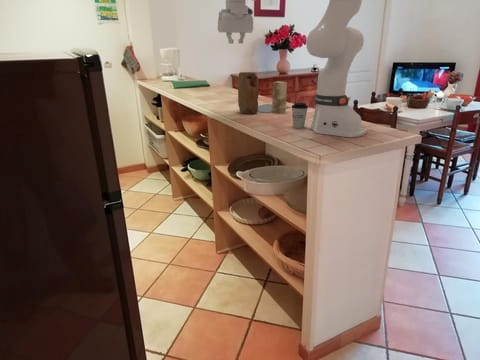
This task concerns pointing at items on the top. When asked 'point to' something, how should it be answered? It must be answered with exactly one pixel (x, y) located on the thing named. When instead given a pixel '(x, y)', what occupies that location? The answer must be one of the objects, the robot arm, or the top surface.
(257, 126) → the top surface
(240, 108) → the block
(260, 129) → the top surface
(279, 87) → the oak post
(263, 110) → the grey rubber mat
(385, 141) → the top surface
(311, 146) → the top surface
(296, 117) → the coffee cup
